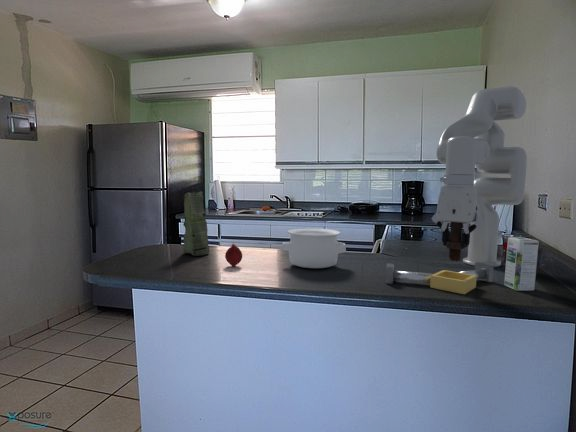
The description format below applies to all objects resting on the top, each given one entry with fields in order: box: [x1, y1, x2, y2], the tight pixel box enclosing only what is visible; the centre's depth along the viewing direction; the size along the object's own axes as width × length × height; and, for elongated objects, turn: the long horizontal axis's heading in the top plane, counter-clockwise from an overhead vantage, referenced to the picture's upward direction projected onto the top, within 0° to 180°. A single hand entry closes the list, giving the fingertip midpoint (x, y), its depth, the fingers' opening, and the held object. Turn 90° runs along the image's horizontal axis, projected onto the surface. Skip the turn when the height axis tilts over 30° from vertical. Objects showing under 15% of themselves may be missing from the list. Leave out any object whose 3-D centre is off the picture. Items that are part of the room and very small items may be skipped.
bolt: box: [445, 209, 465, 262], centre depth 112 cm, size 6×5×15 cm
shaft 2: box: [459, 262, 495, 283], centre depth 119 cm, size 12×5×5 cm, turn 118°
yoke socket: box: [429, 269, 477, 295], centre depth 113 cm, size 10×10×4 cm
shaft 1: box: [385, 263, 434, 285], centre depth 117 cm, size 14×5×5 cm, turn 73°
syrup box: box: [503, 236, 540, 292], centre depth 113 cm, size 6×6×14 cm
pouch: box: [182, 190, 210, 257], centre depth 155 cm, size 11×12×25 cm
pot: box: [281, 227, 347, 269], centre depth 137 cm, size 22×17×12 cm
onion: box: [224, 242, 243, 267], centre depth 135 cm, size 6×6×8 cm
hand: (455, 245), depth 112 cm, fingers closed on bolt, 4 cm apart
